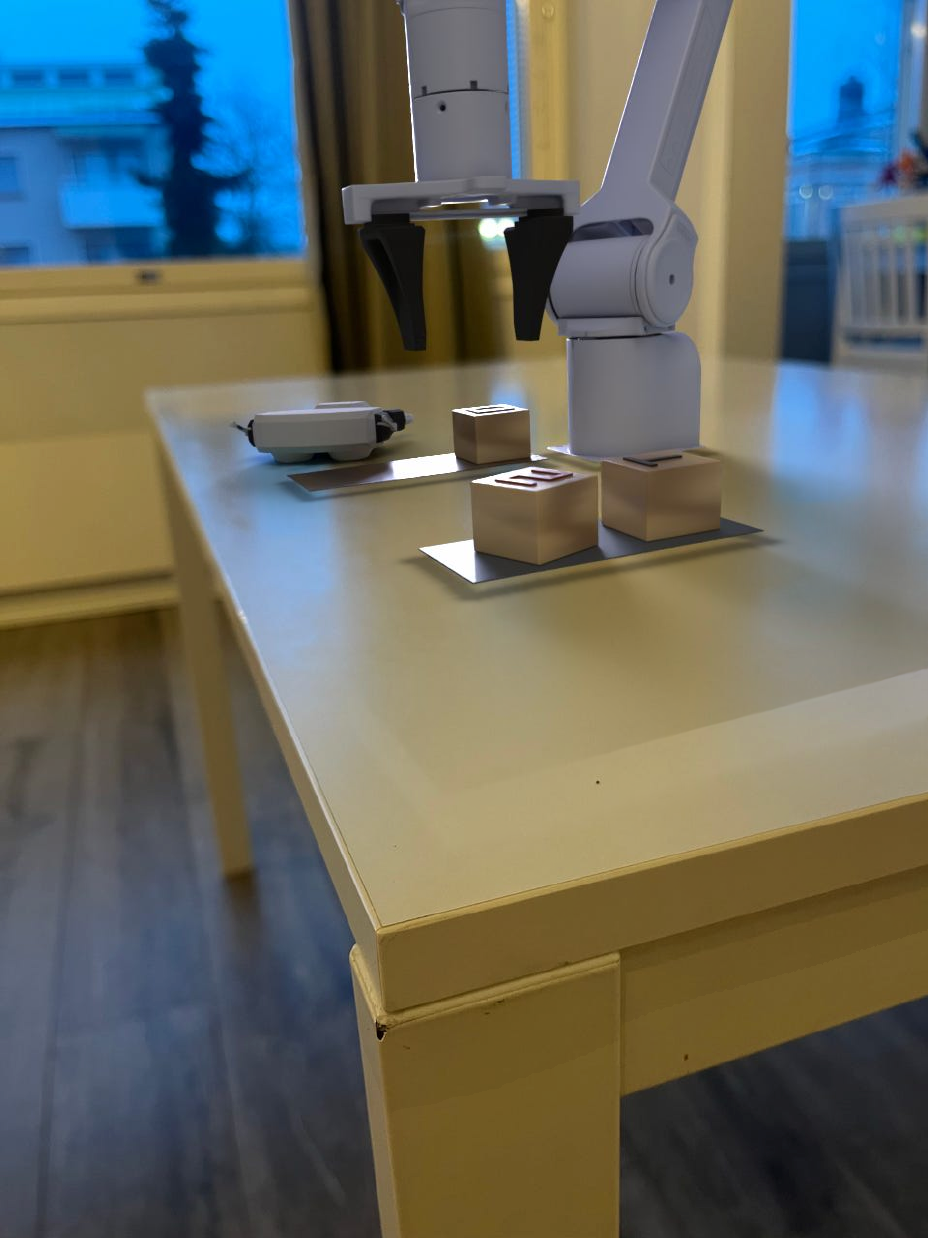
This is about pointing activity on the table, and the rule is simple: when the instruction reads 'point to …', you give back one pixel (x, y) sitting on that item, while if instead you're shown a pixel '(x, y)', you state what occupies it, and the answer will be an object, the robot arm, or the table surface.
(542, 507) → the tile
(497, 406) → the tile
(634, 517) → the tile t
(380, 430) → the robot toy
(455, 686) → the table surface
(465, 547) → the strip front
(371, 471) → the strip back
